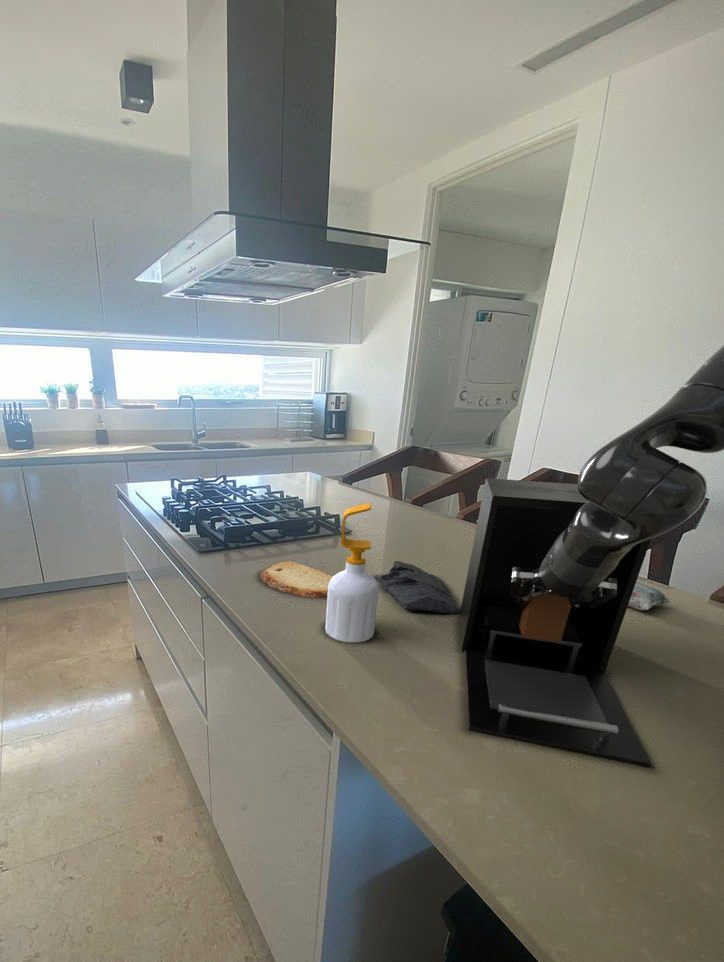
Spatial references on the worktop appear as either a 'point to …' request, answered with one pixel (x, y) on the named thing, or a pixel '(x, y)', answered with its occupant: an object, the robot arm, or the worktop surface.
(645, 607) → the packaged food
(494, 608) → the rack
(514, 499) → the oven
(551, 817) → the worktop surface
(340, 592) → the soap bottle
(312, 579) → the slice of bread
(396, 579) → the dark grey crumpled cloth
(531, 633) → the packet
